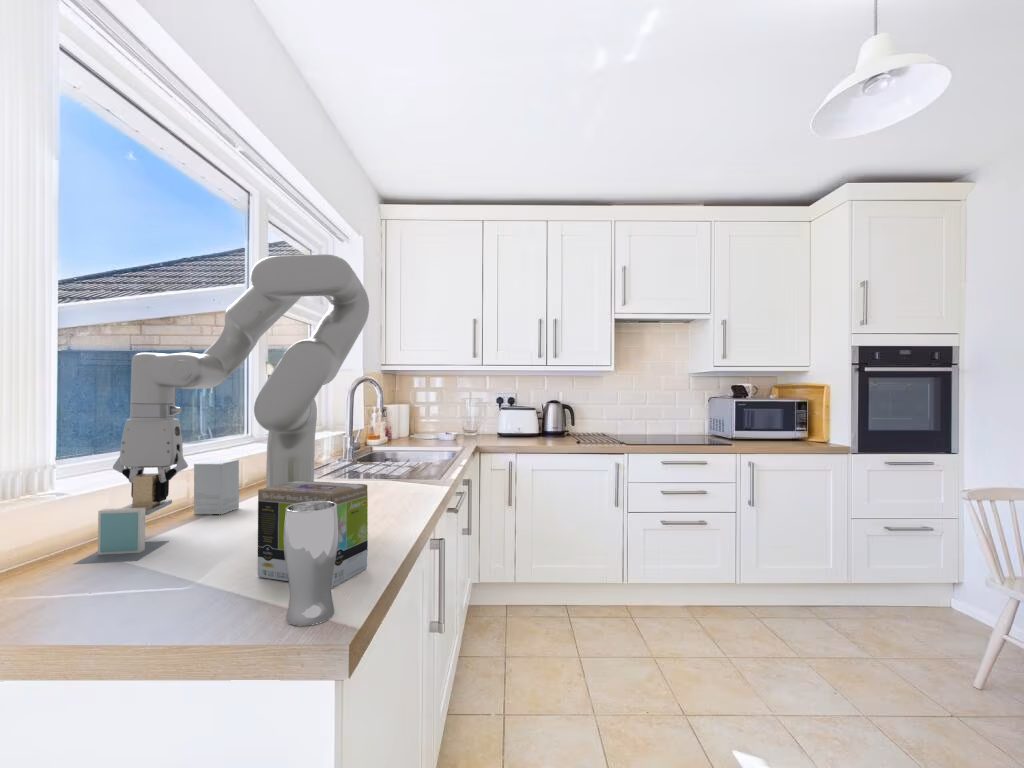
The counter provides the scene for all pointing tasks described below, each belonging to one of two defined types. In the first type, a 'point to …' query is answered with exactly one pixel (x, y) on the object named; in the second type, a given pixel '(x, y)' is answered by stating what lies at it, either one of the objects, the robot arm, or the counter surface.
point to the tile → (121, 530)
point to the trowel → (146, 493)
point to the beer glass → (310, 560)
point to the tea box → (349, 525)
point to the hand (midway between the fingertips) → (150, 499)
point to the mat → (122, 555)
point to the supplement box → (216, 486)
